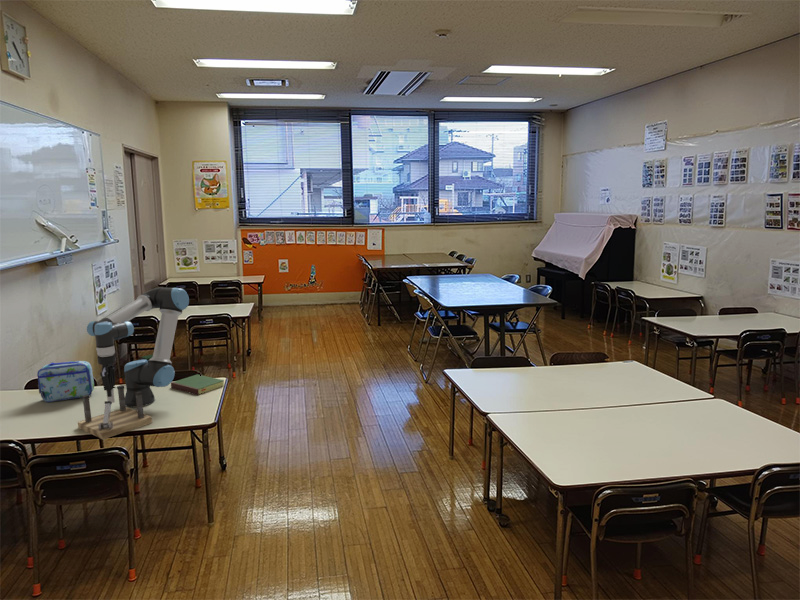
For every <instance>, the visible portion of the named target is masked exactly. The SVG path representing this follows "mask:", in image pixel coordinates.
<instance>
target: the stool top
mask: <svg viewBox="0 0 800 600" xmlns="http://www.w3.org/2000/svg"><path fill="white" fill-rule="evenodd" d="M116 389H117V394H118V395H117V396H118V402H119V403H118V404H119V409H115V410H112V411H110V420H109V429H102V424H103V419H104V413H102V414H100V415H97V416H93V417H92V412H91V405H90V404H91V403H90V402H91V401H90V396H89V395H84V396H82V398H81V399H82V403H83V411H84V419H83V420H80V421H77V428H78V429H80V430H82V431H84V432H86V433H89V434H90V435H93V436H95V437H97V438H99V439H100V440H106V439H109V438H111V437H114V436H117V435H121V434H124V433H126V432H129V431H132V430H135V429H138V428H141V427H144V426H146V425H149V424H150V425H151V424H152V423H153V417H152V416H151V415H148V414H145V413H144V412H145V411H144V406H143V402H142V392H140V391H139V392H135V395H136V403H137V407H136V410H135V409H132V408H131V407H127V406H126V405H125V385H122V384H121V385H116Z"/></svg>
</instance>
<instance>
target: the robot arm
mask: <svg viewBox="0 0 800 600" xmlns="http://www.w3.org/2000/svg"><path fill="white" fill-rule="evenodd" d="M189 303H190V298H189V295H188V293H187V291H186V290H185V289H184V288H179V287H159V286H158V287H155V288H152V289H150V290H147V291H146V292H145V291H144V293H141V294H140V295H138V296H137V298H136V299H135V300H133V301H132V302H130V303H128V304H126V305H124V306H123V307H121V308H119V309H117V310H116V311H114V312H112V313H111V314H109V315H107V316H105V317H103V318H102V319H100V320H94V321H90V322H89V323H88V324H87V326H86V332H87V334H88V335H89V336H92V337H94V338H95V345H96V348H95V351H96V354H97V364H98V365H100V366H101V371H102V372H100V374H99V375H100V377H101V380H102V381H101V382H102V385H103V391H105V392H106V401H111V402H112V403H113V404H114V403H115V402H116V401H115V392H114V389H116V379H115V378H116V376H115V375H116V365H114V364H115V363H116V360H117V359H116V357H117V356H116V350H115V348H116V347H115V341H116V340H120V339H124V338H128V337H129V336H132V335H133V334H134V332H135V327H134V324H133V323H132V322H131V320H132V319H135V318H136V317H137V316H140V315H141V314H143V313H144V312H150V311H152V310H154V309H158V311H160V313H161V315H160V320H159V325H158V329H157V335H156V339H155V344H154V350H153V353H152V355H153V357H152V358H151V359H149V362H148V361H147V360H142V359H141V360H139V359H138V360H134V361H130V362H127V363H126V364H125V365H124V368H123V370H124V371H123V373H124V380H125V386H126V387H125V388H126V389H125V390H126V392H125V394H124V396H125V405H126V407H127V408H137V403H136V395H135V392H139V391H140V392H142V402H143V407H144V406H148V405H151V404H153V403H154V402H155V401H156V398H155V394H154V392H153V390H152V388H151V387H155V388H165V387H168V386H169V385H171V382H173V380H174V378H175V376H176V375H175V374H176V372H175V368H174V367H173V366H172V364H173V362H172V361H171V355H172V349H173V344H174V340H175V335H176V334H175V333H176V330H177V324H178V319H179V316H181V315H182V314H183V311H184V310H186V309H187V308H188V307H189Z"/></svg>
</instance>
